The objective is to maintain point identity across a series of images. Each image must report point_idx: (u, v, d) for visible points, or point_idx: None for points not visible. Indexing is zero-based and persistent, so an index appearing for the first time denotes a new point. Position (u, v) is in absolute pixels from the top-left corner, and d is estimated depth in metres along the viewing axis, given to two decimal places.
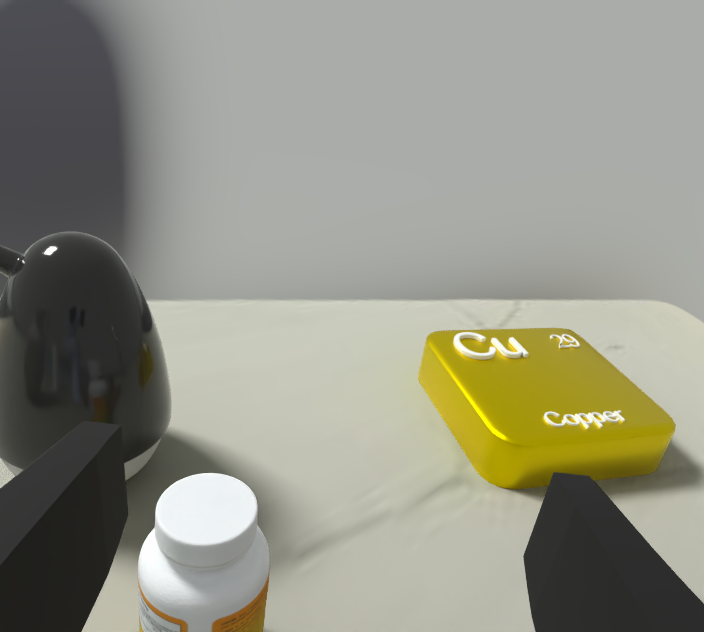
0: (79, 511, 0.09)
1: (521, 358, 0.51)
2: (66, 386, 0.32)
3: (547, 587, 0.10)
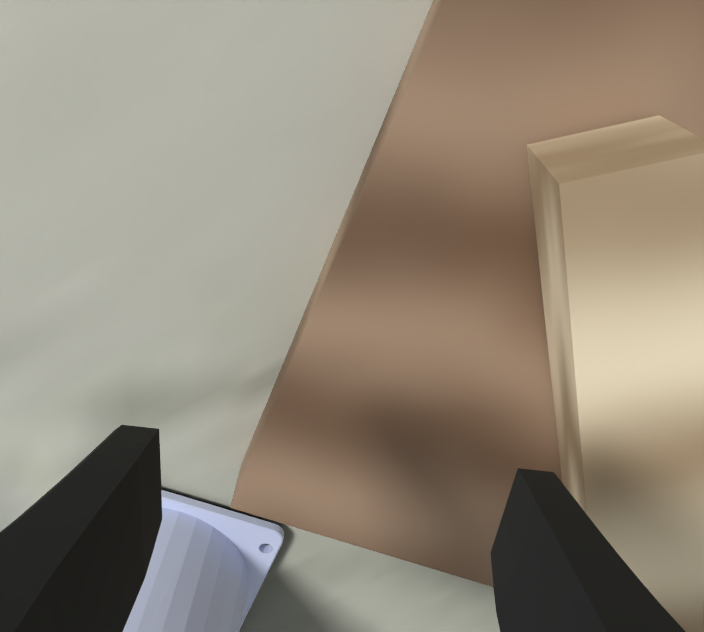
0: (122, 515, 0.09)
1: None
2: None
3: (510, 583, 0.10)
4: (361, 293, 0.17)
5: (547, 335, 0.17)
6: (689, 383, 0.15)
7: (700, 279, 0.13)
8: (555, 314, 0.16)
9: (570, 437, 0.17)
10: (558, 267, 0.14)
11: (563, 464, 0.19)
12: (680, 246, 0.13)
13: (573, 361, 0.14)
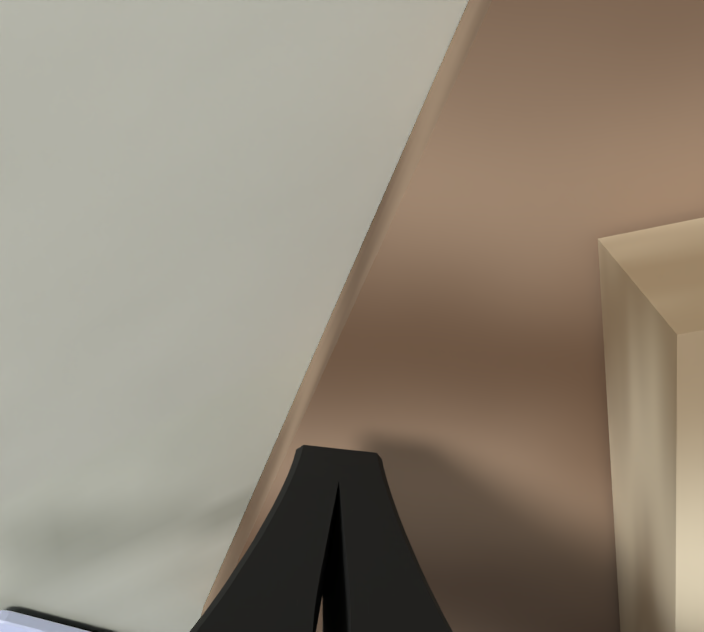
0: (329, 537, 0.09)
1: None
2: None
3: (328, 564, 0.10)
4: (355, 430, 0.12)
5: (613, 486, 0.13)
6: None
7: None
8: (636, 480, 0.11)
9: None
10: (654, 435, 0.09)
11: None
12: None
13: (673, 571, 0.10)
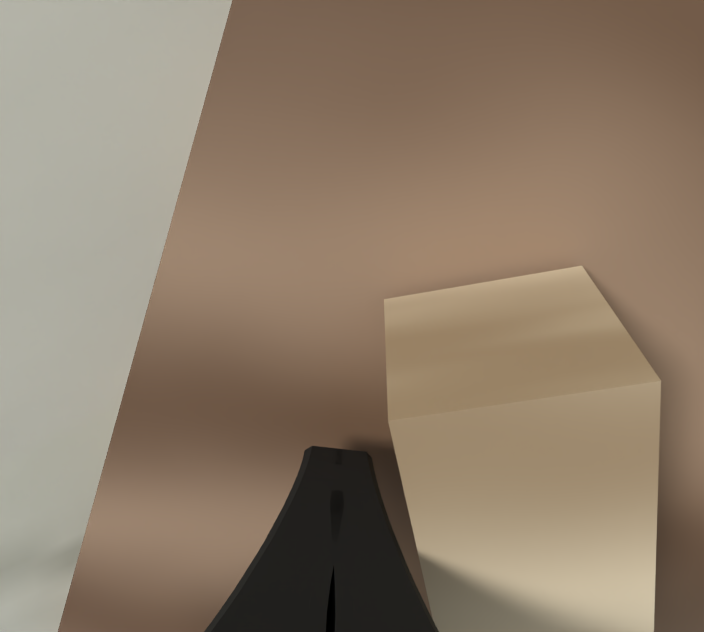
0: None
1: None
2: None
3: None
4: (155, 486, 0.12)
5: None
6: None
7: (629, 555, 0.08)
8: None
9: None
10: None
11: None
12: (595, 511, 0.08)
13: None
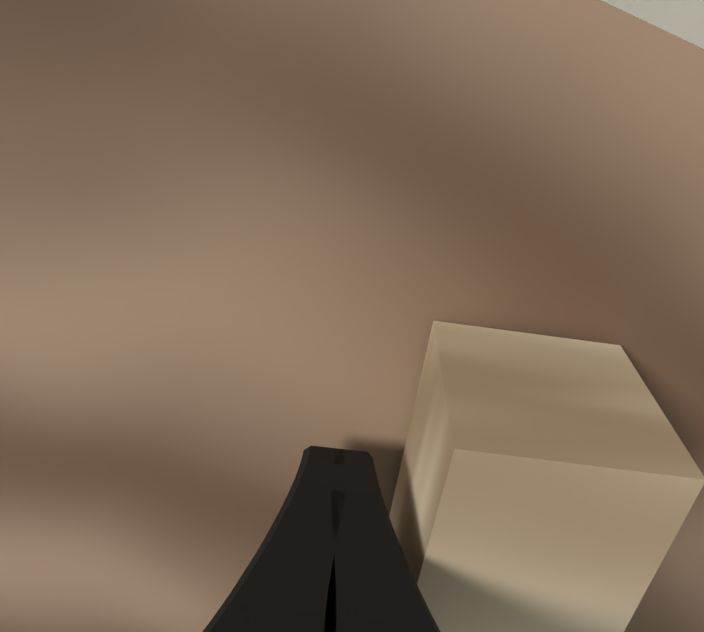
0: None
1: None
2: None
3: None
4: None
5: None
6: None
7: (604, 622, 0.09)
8: None
9: None
10: (416, 529, 0.09)
11: None
12: (595, 577, 0.08)
13: None
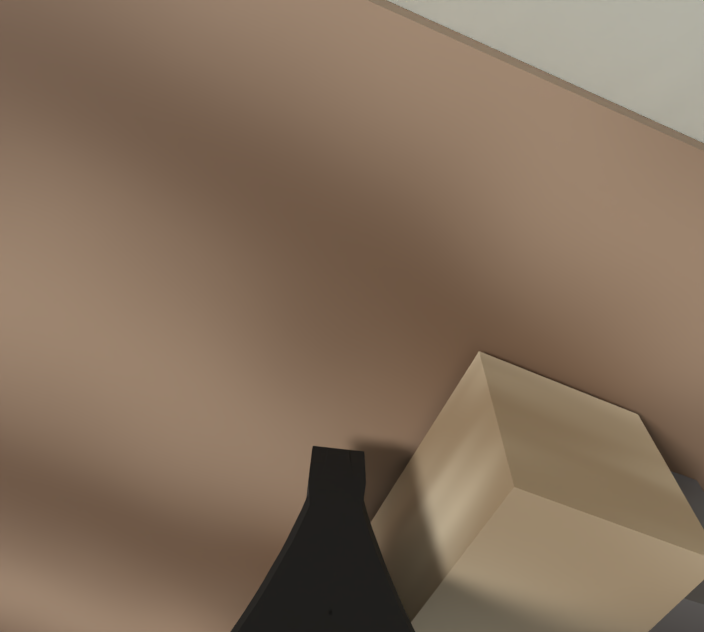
0: None
1: None
2: None
3: None
4: None
5: None
6: None
7: None
8: None
9: None
10: (427, 550, 0.09)
11: None
12: (589, 629, 0.09)
13: None
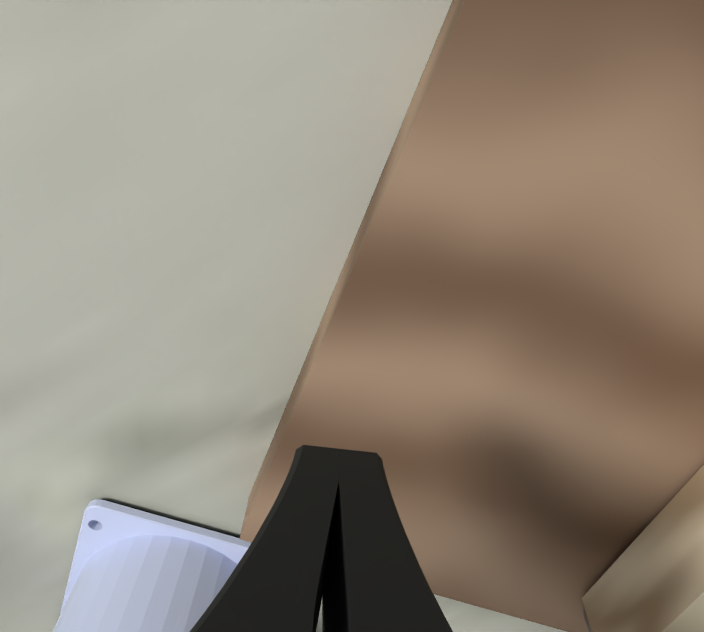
0: (329, 537, 0.09)
1: None
2: None
3: (328, 564, 0.10)
4: (363, 339, 0.18)
5: None
6: None
7: None
8: None
9: None
10: None
11: None
12: None
13: None
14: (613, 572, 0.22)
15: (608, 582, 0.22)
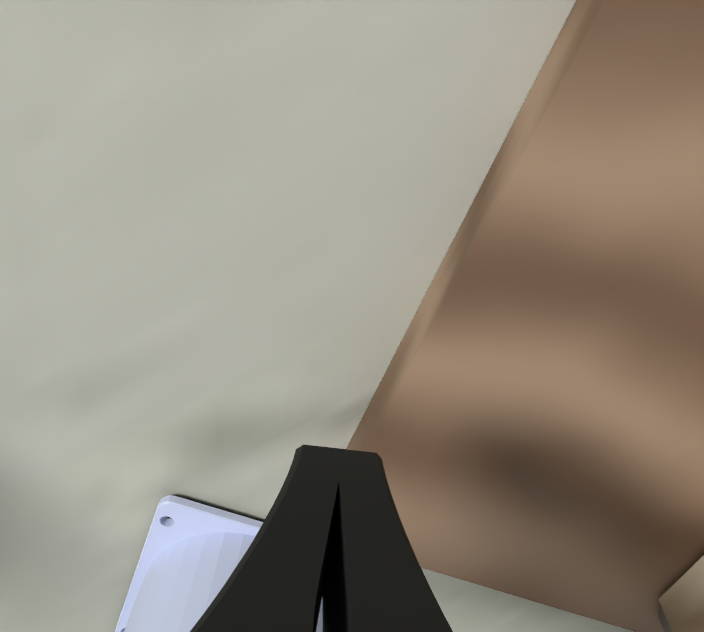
0: (328, 537, 0.09)
1: None
2: None
3: (327, 564, 0.10)
4: (466, 335, 0.18)
5: None
6: None
7: None
8: None
9: None
10: None
11: None
12: None
13: None
14: (695, 573, 0.22)
15: (689, 583, 0.22)
